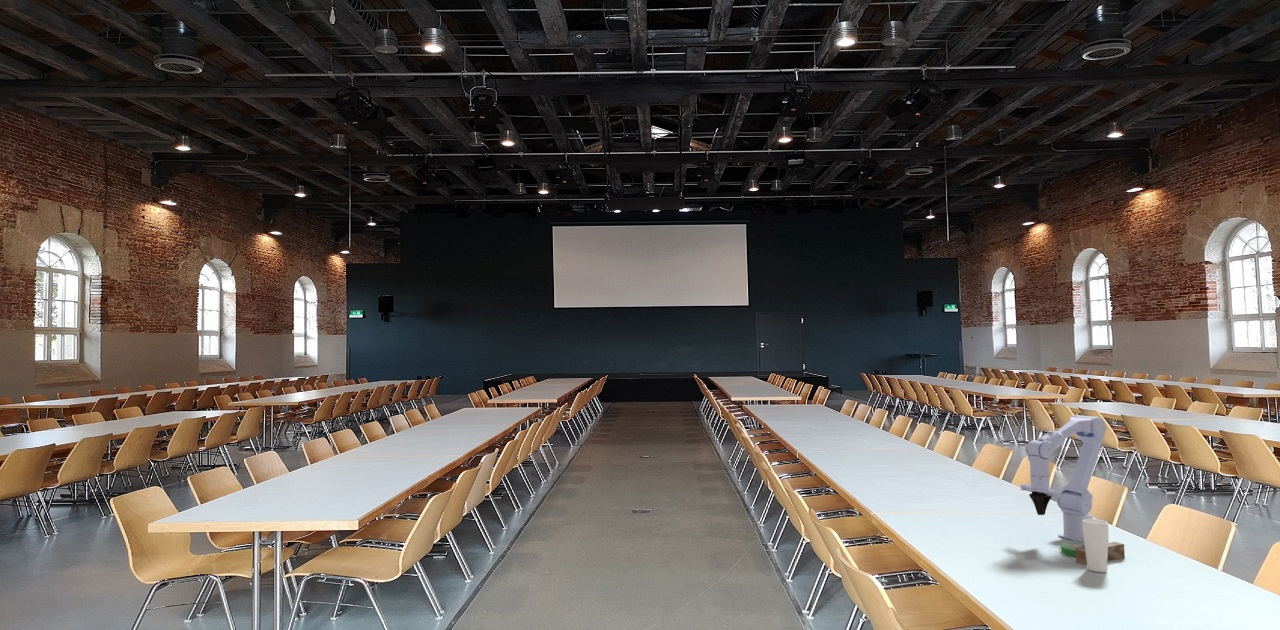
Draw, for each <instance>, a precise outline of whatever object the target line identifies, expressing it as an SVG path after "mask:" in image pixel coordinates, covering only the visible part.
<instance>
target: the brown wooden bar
mask: <svg viewBox="0 0 1280 630" xmlns="http://www.w3.org/2000/svg"><path fill="white" fill-rule="evenodd" d="M1125 553H1126V552H1125V544H1124V543H1121V542H1118V541H1111V542H1108V557H1107V562H1111V561H1117V560H1122V559H1125V558H1126V557H1125ZM1075 556H1076V558H1075V563H1076V564H1080V565H1082V566H1087V561H1086V553H1085V547H1080V548H1075Z"/></svg>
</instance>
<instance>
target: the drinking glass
mask: <svg viewBox="0 0 1280 630" xmlns="http://www.w3.org/2000/svg"><path fill="white" fill-rule="evenodd" d="M1109 532H1110V531H1109V522H1108V521H1107V520H1104V519H1099V518H1093V519H1083V538H1084V541H1083V544H1084V546H1085V553H1086V561H1087V565H1086V568H1087V570H1088V571H1091V572H1095V573H1105V572H1106V573H1107V571H1108V561H1107V557H1108V543H1109V536H1110V535H1109V534H1110V533H1109Z"/></svg>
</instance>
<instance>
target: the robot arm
mask: <svg viewBox="0 0 1280 630" xmlns="http://www.w3.org/2000/svg"><path fill="white" fill-rule="evenodd" d="M1106 430H1107V424H1106V423H1105V420H1104V418H1102V417H1100V416H1092V415H1091V416H1090V415H1089V416H1087V415H1080V414H1074V415H1073V416H1071V417H1069V418H1068V422H1067V423H1065V424H1064V425H1063V426H1062V427H1060V428H1058V430H1048V431H1047V433H1045V434H1044V435H1042V436H1039V437H1038V439H1036V440H1034V439H1032V440H1030V441H1028V443H1026V446H1025V448H1024V449H1025V450H1024V451H1025V453H1026V455H1027V459H1028V461H1029V472H1030V477H1029V478H1030V484H1026V483H1023V484H1020V491H1027V492H1031V493H1029V494H1028V495H1029V496H1028V497H1029V498H1030V500H1031V501H1032V503H1033V505H1034V508H1035V511H1036V514H1037V515H1038V516H1044V515H1046V511H1047V508H1048V505H1049V502H1050V501H1051V500H1052V498H1054V499H1055V498H1056V503H1057V504H1056V505H1057V506H1058V508H1059V509H1060V511H1061V512H1062V519H1063V520H1062V521H1063V523H1062V525H1063V533H1061V534H1057V537H1060V538H1063V539H1067V540H1071V541H1074V542H1084V538H1083V519H1094V518H1093V516H1092V515H1091V514H1090V512H1091V510H1092V508H1093V498H1094V496H1093V493H1091V492H1090V490H1089V489H1088V488H1089V484H1090V481H1091V478H1092V475H1093V471H1094V469H1095V466H1096V462H1097V459H1098V455H1099V453H1100V450H1101V448H1102V447H1101V446H1102V442H1103V441H1104V437H1105V435H1106ZM1073 435H1076V437H1077V438H1078V440H1079V441H1081V443H1082V446H1081V449H1080V452H1079V454H1078V459H1077V462H1076V463H1075V464H1076V465H1075V467H1074V470H1073V471H1074V472H1073V474H1072V476H1071V481H1070V483H1068V484H1066V485H1064V486H1062V488H1061V490H1060V491H1059V490H1056V489H1054V488H1051V487H1050V468H1049V465H1050V464H1049V459H1050V458H1051V456H1052V455H1053V452H1055V450H1056V449H1058V448H1059V447H1060V446H1063V445H1064V443H1065V440H1066V439H1067V438H1070V437H1071V436H1073Z"/></svg>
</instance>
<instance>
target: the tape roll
mask: <svg viewBox="0 0 1280 630" xmlns="http://www.w3.org/2000/svg"><path fill="white" fill-rule="evenodd" d="M1080 547H1085V546H1084V543H1078V542H1067V543H1062V544H1061V547H1060V548H1061V554H1063V556H1066V557H1069V558H1074V559H1076V556H1075V548H1080Z"/></svg>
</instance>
